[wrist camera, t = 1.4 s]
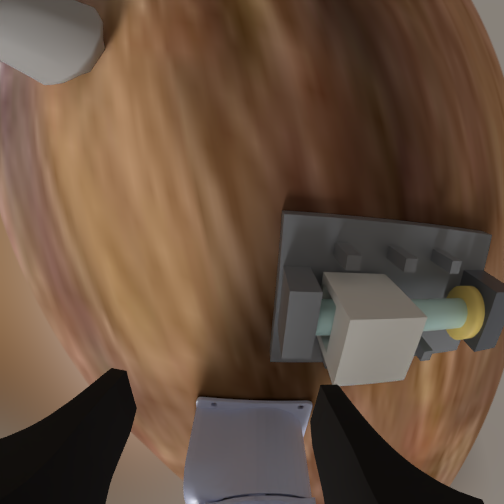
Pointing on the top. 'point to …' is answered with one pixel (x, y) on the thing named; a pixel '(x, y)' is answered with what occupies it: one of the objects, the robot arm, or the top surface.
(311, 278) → the rod slider bracket
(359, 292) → the sleeve
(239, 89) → the top surface
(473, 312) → the yellow round puck
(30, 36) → the salt shaker
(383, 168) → the top surface
